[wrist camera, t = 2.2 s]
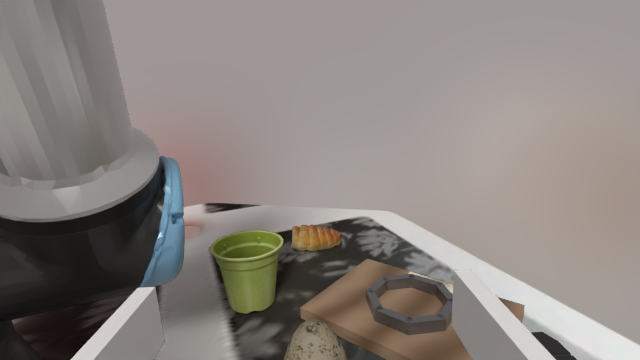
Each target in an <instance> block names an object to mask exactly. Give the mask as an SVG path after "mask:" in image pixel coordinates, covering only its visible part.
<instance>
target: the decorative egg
mask: <svg viewBox="0 0 640 360" xmlns="http://www.w3.org/2000/svg"><path fill="white" fill-rule="evenodd" d="M284 360H348V359H347V356H346V354H345V351H344V349H343V347H342V345H341V343H340V341H339V339H338V337H337V336H336V334H335V333H334V332H333V330H332V329H331V328H330V327H329V326H328V325H327V324H325V323H324V322H322V321H320V320H317V319H311V320H307V321H305V322H304V323H302V324H301V325H300V326H299V327H298V328H297V330H296V331H295V333H294V334H293V336H292V338H291V340H290V342H289V345H288V347H287V350H286V354H285V357H284Z"/></svg>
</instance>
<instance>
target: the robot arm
mask: <svg viewBox="0 0 640 360" xmlns="http://www.w3.org/2000/svg"><path fill="white" fill-rule="evenodd" d="M183 204H184V203H183V190H182V180H181V173H180V169H179V165H178V162H177V161H176V160H175V159H172V158H166V157H164V156H160V157H159V152H158V149H157V147H156V145H155V143H154V142H153V140H152V139H151V138H150V137H148V135H146V134H144V133H143V132H142V131H140V130H137V129H135V128H133V127H132V126H131V123H130V117H129V113H128V109H127V104H126V100H125V95H124V91H123V87H122V82H121V78H120V74H119V69H118V65H117V60H116V56H115V52H114V47H113V43H112V38H111V34H110V30H109V25H108V21H107V17H106V12H105V8H104V4H103V0H0V360H44V359H43V358H42V357H41V356H40V355H39V354H38V353H37V352H36V351H35V350H34V349H33V348H32V347H31V346H30V345H29V344H28V342H27V341H26V340H25V339H24V338H23V337H22V336H21V335H20V334H19V333H18V332H17V331H16V330H15V328H14V326H13V323H12V320H13V319H17V318H21V317H26V316H31V315H35V314H40V313H44V312H49V311H54V310H58V309H63V308H68V307H72V306H77V305H81V304H86V303H91V302H95V301H100V300H105V299H109V298H114V297H118V296H123V295H128V294H131V295H130V297H129V298H128V299H127V300H126V301H125V302H124V303H123V304H122V305H121V306H120V307H119V308H118V309H117V310H116V312H115V313H114V314H113V315H112V316H111V317H110V318H109V319H108V320H107V321H106V322H105V323H104V324H103V325H102V326H101V328H100V329H99V330H98V331H97V332H96V333H95V334H94V335H93V336H92V337H91V338H90V339H89V340H88V341H87V343H86V344H85V345H84V346H83V347H82V348H81V349H80V350H79V351H78V352H77V353H76V354H75V355H74V356H73V357H72V359H71V360H154V358H155V357H156V355H157V353H158V352H159V350H160V348H161V347H162V345H163V344H164V342H165V340H164V334H163V329H162V323H161V317H160V311H159V305H158V300H157V294H156V288H155V287H154V286H158V285H161V284H165V283H168V282H170V281H172V280H173V279H174V278H175V277H176V276H177V275H178V274H179V272H180V270H181V268H182V264H183V259H184V239H185V236H184V235H185V234H184V219H183V215H184V213H183ZM452 327H453V329H454V330H455V332H456V333H457V335H458V337H459V338H460V340H461V341H462V343H463V345H464V346H465V348H466V350H467V351H468V353H469V354H470V356H471V358H472V359H473V360H577V359H576V358H575V357H574V356H571V354H570V352H569V351H568V350H567V349H565V348H564V347H563V346H562V345H561V344H560V343H559V342H558V341H557V340H555V339H553V338H552V337H550V336H548V335H547V334H545V333H543V332H534V333H530V332H529V330H528V329H527V328H526V327H525V326H524V325H523V324H522V323H521V322H520V321H519V320H518V319H517V318H516V317H515V316H514V315H513V313H512V312H511V311H510V310H509V309H508V308H507V307H506V306H505V305H504V304H503V303H502V302H501V301H500V300H499V299H498V298H497V296H496V295H495V294H494V293H493V292H492V291H491V290H490V289H489V288H488V287H487V286H486V285H485V284H484V283H483V282H482V281H481V279H480V278H479V277H478V276H477V275H476V274H475V273H474V272H473V271H472V270H471V269H469V270H454V277H453V301H452Z"/></svg>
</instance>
